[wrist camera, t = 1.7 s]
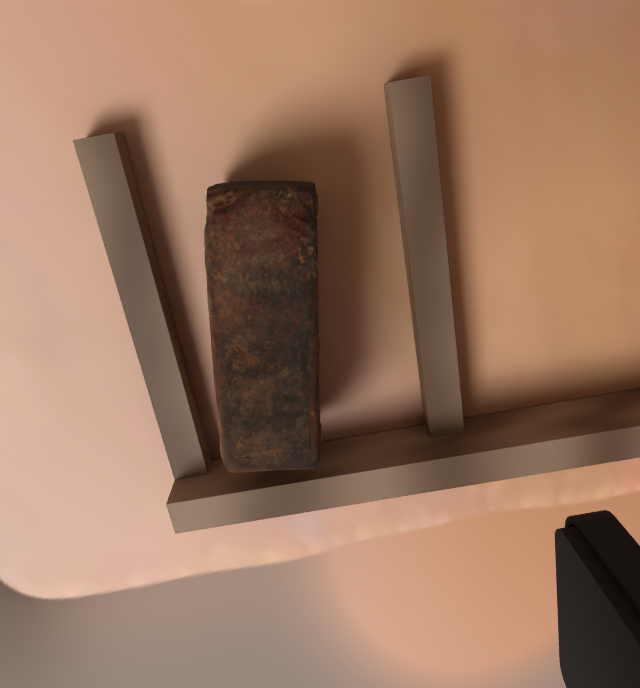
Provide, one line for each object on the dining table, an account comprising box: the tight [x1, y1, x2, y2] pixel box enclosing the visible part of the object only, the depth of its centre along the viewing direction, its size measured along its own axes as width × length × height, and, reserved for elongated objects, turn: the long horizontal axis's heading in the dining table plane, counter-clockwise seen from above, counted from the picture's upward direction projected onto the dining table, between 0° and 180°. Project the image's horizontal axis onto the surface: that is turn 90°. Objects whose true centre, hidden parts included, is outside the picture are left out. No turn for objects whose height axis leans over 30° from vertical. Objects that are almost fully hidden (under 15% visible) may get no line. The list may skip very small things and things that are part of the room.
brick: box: [204, 181, 321, 473], centre depth 23 cm, size 11×4×5 cm, turn 1°
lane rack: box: [73, 75, 640, 534], centre depth 23 cm, size 24×16×3 cm, turn 100°
